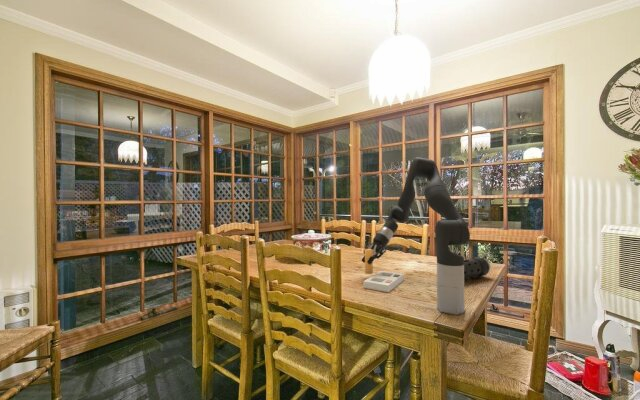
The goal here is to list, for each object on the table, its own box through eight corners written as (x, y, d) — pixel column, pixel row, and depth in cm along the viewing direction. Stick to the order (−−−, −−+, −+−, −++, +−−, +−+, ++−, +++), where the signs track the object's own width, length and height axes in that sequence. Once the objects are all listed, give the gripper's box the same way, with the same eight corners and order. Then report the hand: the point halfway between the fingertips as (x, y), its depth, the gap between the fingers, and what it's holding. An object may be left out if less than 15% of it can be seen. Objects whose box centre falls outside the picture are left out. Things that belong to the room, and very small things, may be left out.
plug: (370, 274, 142) (370, 250, 142) (363, 273, 145) (363, 249, 145) (374, 272, 146) (373, 249, 146) (366, 271, 148) (366, 248, 148)
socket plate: (388, 292, 124) (388, 284, 124) (363, 287, 131) (363, 280, 131) (403, 279, 142) (403, 273, 142) (381, 276, 149) (381, 270, 149)
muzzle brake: (437, 281, 139) (437, 260, 139) (474, 274, 152) (474, 255, 152) (454, 287, 131) (454, 264, 131) (492, 278, 143) (492, 258, 143)
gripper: (370, 231, 155) (353, 255, 149) (389, 233, 143) (370, 260, 137) (378, 240, 158) (361, 264, 152) (396, 243, 145) (379, 270, 139)
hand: (365, 262), depth 144 cm, fingers closed on plug, 4 cm apart
